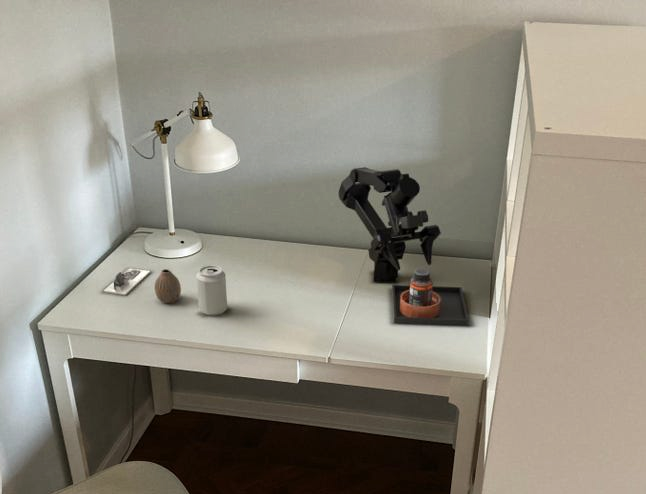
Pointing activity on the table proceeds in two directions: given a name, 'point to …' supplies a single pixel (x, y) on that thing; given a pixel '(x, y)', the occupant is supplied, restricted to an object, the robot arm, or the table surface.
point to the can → (212, 290)
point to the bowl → (420, 311)
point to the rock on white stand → (126, 281)
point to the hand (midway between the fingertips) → (414, 267)
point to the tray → (449, 309)
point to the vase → (167, 287)
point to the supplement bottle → (421, 288)
